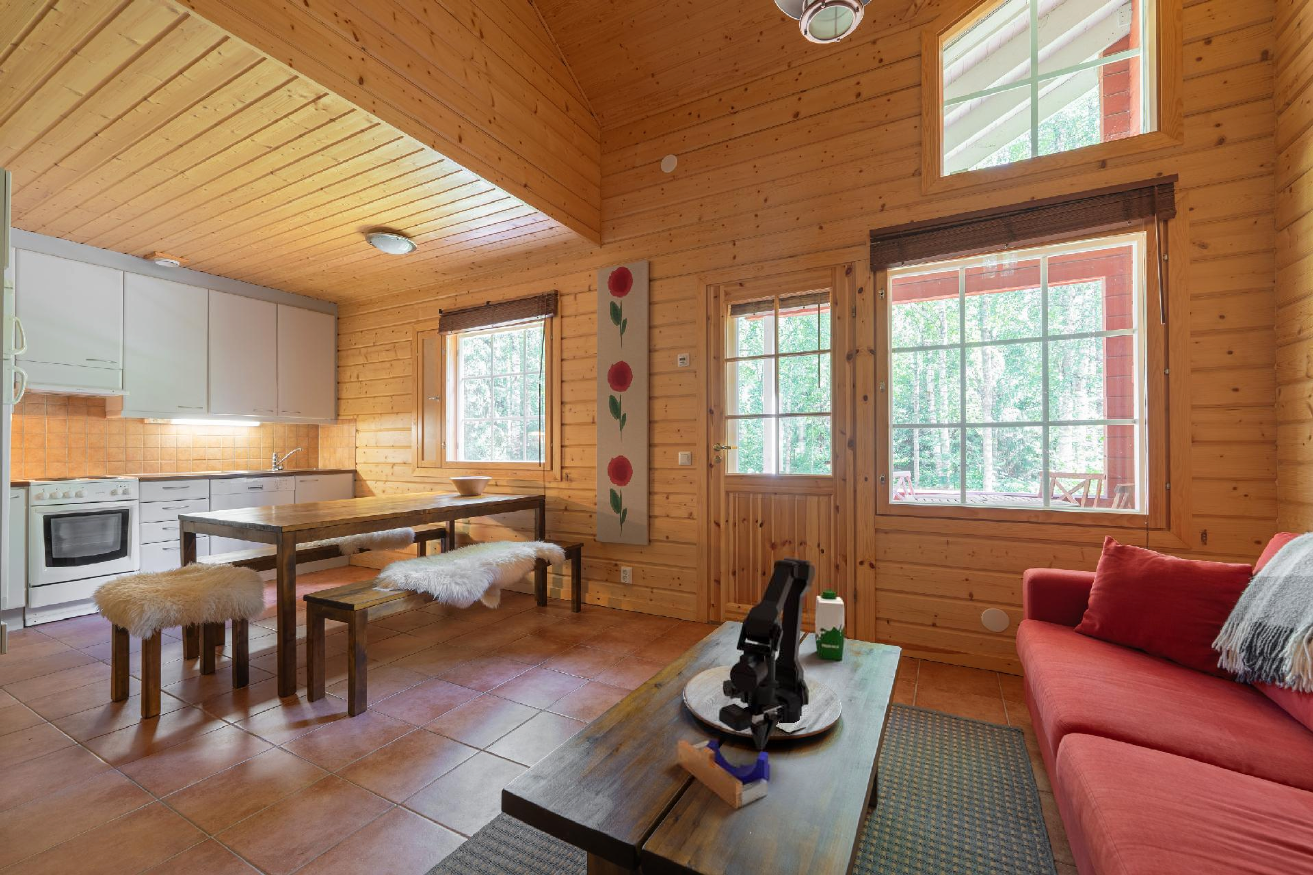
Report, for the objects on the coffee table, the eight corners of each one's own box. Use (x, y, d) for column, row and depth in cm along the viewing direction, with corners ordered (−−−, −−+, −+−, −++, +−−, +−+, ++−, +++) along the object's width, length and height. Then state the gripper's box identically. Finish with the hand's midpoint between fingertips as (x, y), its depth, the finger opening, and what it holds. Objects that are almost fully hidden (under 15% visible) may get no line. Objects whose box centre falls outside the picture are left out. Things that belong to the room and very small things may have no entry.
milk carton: (841, 651, 187) (842, 590, 187) (845, 661, 178) (846, 597, 178) (813, 649, 188) (814, 588, 188) (816, 659, 179) (817, 595, 179)
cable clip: (769, 779, 114) (770, 749, 114) (764, 791, 110) (764, 760, 110) (712, 764, 119) (713, 735, 119) (705, 775, 115) (706, 745, 115)
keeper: (707, 751, 124) (707, 722, 124) (767, 794, 109) (767, 760, 109) (677, 762, 119) (678, 731, 119) (735, 808, 104) (736, 773, 104)
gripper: (765, 654, 132) (764, 721, 132) (702, 671, 122) (701, 744, 122) (802, 670, 123) (801, 743, 123) (738, 690, 113) (736, 769, 112)
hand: (759, 749), depth 120 cm, fingers closed
